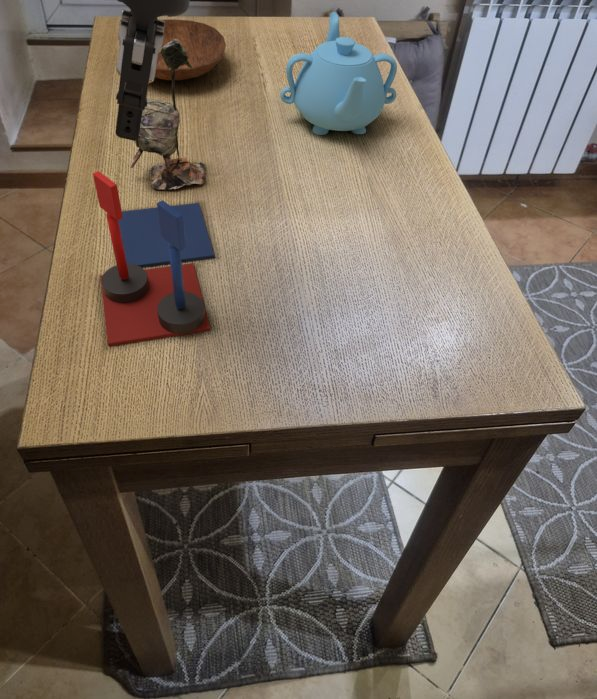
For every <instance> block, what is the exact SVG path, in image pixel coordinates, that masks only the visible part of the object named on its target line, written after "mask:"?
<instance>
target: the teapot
mask: <svg viewBox="0 0 597 699" xmlns="http://www.w3.org/2000/svg"><path fill="white" fill-rule="evenodd" d="M339 17H340V16H339V14H338V13H337V12H335V11H332V12H330V14H329V25H328V31H327V36H326V38H325V42H322V43H321V44H319V45H317V46H316V48H314V50H313V51H312V52H311V54H310V53H309V54H308V53H305V52H300V53H299V52H298V53H296V54H294V55H292V56H291V57H289V59H288V61H287V63H286V67H285V72H286V78H287V83H288V86H286V87H283V88H282V89H281V90H280V92H279V93H280V94H279V96H280V97H279V98H280V100H281V101H282V102H283V103H285V104H287V105H292V104H294V106H295V108H296V109H297V110H298V112H299V113H300V115H301V116H302V117H303V118H304V119H305V120H306V121H307V122H309V123H310V124H312V125H313V127H312V132H313V134H316V135H318V136H324V135H327V134H328V133H329V131H338V132H339V131H341V132H348V131H350V132H351V133H353V134H356V135H363V134H366V132H367V129H366V126H368V125H370V124H371V123H372V122H373V121H375V120H376V119H377V118H379V116H380V115H381V114H382V112H383V110H384V106H385V105H389V104H392V103H394V102H395V101H396V98H397V91H396V89H394V88H393V87H391V86H392V85H393V82H394V81H395V78H396V74H397V71H398V65H397V61H396V59H395V58H394V57H393V56H392V55H390V54H388V53H383V52H382V53H376V54H374V55H373V53H372V51H371V50H370V49H369V48H368V47H366V46H364V45H362V44H361V43H357V42H356V40H355V39H354V38H351V37H349V36H341V32H340V18H339ZM299 62H304V63H303V65H302V66H301V68H300V69H299V71H298V73H297V76H296V79H295V80H294V74H293V68H294V66H295V64H296V63H299ZM379 62H387V63H389V64H390V69H389V73H388V75H387V77H386V80H385V82H384V79H383V76H382V72H381V70H380V68H379V65H378V63H379ZM286 93H290V94H289V96H288V95H286ZM388 94H391V95H389V96H387V95H388Z"/></svg>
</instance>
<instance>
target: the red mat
mask: <svg viewBox="0 0 597 699" xmlns="http://www.w3.org/2000/svg"><path fill="white" fill-rule="evenodd" d="M181 265H182V274H183V284H184V292H190V293H193V294H195V295H197V296H198V297H200V298H201V300H202V301H203V302H204V298H203V295H202V292H201V288H200V284H199V280H198V276H197V271H196V267H195V264H194V263H193V262H190V263H184V264H181ZM144 270H145V271H146V273H147V276H148V282H149V289H148V291H147V293H146V294H145V296H143V297H142V298H141V299H139V300H137V301H134V302H130V303H117V302H114V301H112V300H110V299H108V298H107V297H106V295H105V294H104V291H103V286H102V282H101V280H102V276H103V274H102V275H100V276H99V277H100V283H101V284H100V285H101V293H102V295H101V296H102V304H103V314H104V320H105V321H104V322H105V330H106V340H107V346H108V347H113V346H120V345H126V344H132V343H139V342H140V343H141V342H146V341H152V340H158V339H164V338H171V337H177V336H183V335H188V334H195V333H196V334H197V333H203V332H208V331H210V330H211V326H210V322H209V318H208V315H207V311H206V307H205V306H204V309H205V319H204V322H203V323H202V325H201V326H200V327H199V328H197V329H196V330H194V331H191V332H188V333H173V332H170V331H168V330H166V329H164V328H163V327H162V326H161V324H160V322H159V319H158V312H157V307H158V304H159V302H160V301H161V299H162V298H164V297H165V296H167V295H168V294H171V293H174V289H173V281H172V272H171V265H170V266H168V265H167V266H162V267H154V268H146V269H144Z"/></svg>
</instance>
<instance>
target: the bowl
mask: <svg viewBox="0 0 597 699" xmlns="http://www.w3.org/2000/svg"><path fill="white" fill-rule="evenodd" d="M162 20H163V21H165V26H164V37H163V44H162V47H163V46H164V45H165V44H167V43H169V42H171V41H173V40H174V39H177V40H179V42H180V43H181V44H182V45H183V48H184V49H185V50H186V52H187V54H188V57H189V59H188V62H189V63H190V65H191V66H192V68H189V67H188V66H187V65H185V64H183V66H180V67H179V68H178V69H176V70H175V81H182V80H189V79H194V78H199V77H201V76H203V75H205V74H206V73H209V72H211V71H212V69H214V67H215V66H216V65H217V64H218V63H219V62H220V61H221V60H222V59H223V56H224V54H225V50H226V46H227V44H226V41H225V40H226V39H225V38H224V37H225V36H224V35H223V34H222V33H220V31H219V30H217V28H216V27H214V26H211V25H209V24H207V23H204V22H199V21H194V20H188V19H187V20H186V19H162ZM118 44H119V45H118V46H120V41H118ZM154 79H159V80H163V81H172V80H171V68H168V66H167V65H166V63H165V61H164V58H163V57H162V55H161V52H159V53H158V58H157V65H156V72H155V77H154Z"/></svg>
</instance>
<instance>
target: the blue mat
mask: <svg viewBox="0 0 597 699" xmlns="http://www.w3.org/2000/svg"><path fill="white" fill-rule="evenodd" d="M170 206H171V207H173V208H174V209H175V210H177V211H178V212H180V213H181V214H182V215H183V221H184V231H185V242H186V248H185V249H184V250H182V251H180V255H181V263H187V262H188V263H189V262H194V261H195V262H196V261H203V260H209V259H215V252H214V250H213V246H212V242H211V240H210V236H209V233H208V228H207V225H206V222H205V219H204V215H203V211H202V209H201V206H200V203H199V202H195V203H194V202H193V203H185V204H176V205H170ZM122 215H123V218H122V219H120V220H118V221H119V226H120V231H121V236H122V241H123V247H124V252H125V257H126V262H127V264H134V265H137V266H140V267H141V268H143V269H144V268H149V267H156V266H164V265H171V264H170V256H169V248H168V243H169V242H168V241H167V240H165V239H164V238H163V237H162V236H161V232H160V224H159V216H158V209H157V207H149V208H148V207H147V208H140V209H139V208H138V209H132V210H123V211H122Z"/></svg>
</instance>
